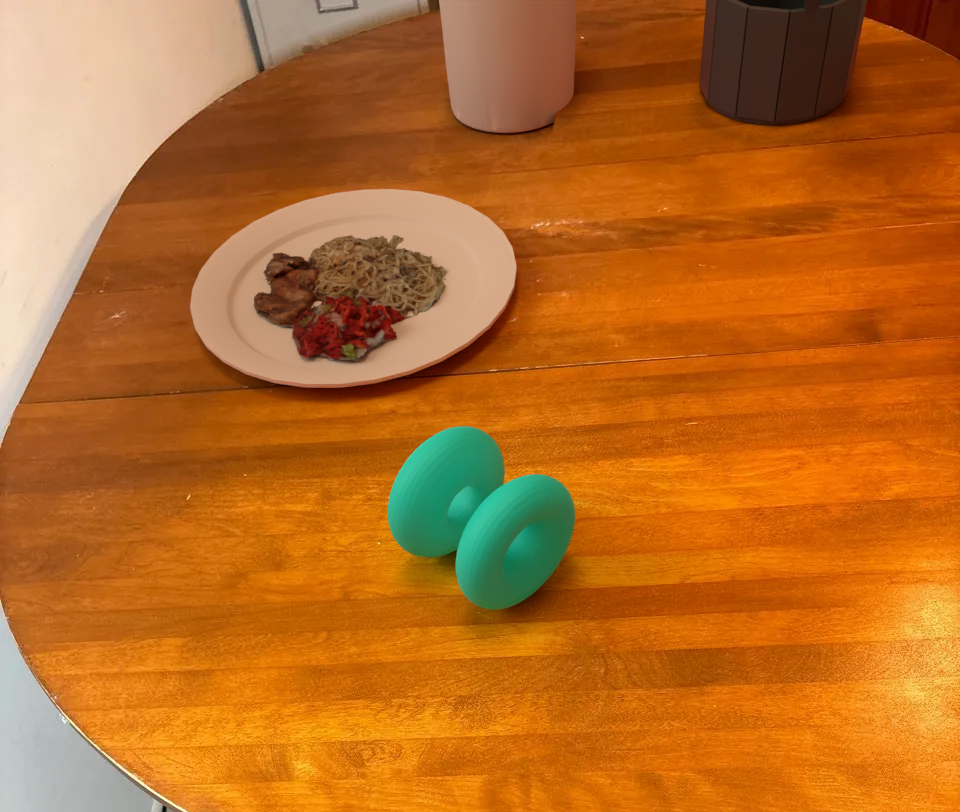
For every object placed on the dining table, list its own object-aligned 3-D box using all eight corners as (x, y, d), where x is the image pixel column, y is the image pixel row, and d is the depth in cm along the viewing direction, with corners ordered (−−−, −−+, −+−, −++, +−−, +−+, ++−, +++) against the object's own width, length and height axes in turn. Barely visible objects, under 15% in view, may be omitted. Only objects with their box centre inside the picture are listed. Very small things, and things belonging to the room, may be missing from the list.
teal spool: (488, 496, 81) (478, 393, 73) (584, 562, 76) (584, 460, 68) (390, 568, 77) (368, 468, 70) (483, 643, 73) (471, 545, 65)
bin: (867, 116, 108) (899, -34, 97) (720, 135, 108) (735, -13, 97) (822, 48, 117) (846, -95, 107) (686, 66, 117) (696, -75, 107)
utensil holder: (510, 59, 124) (500, -115, 110) (607, 95, 117) (610, -87, 104) (420, 111, 119) (398, -66, 105) (517, 151, 112) (507, -33, 98)
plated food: (446, 176, 110) (443, 145, 107) (572, 335, 92) (572, 302, 90) (165, 259, 104) (154, 228, 102) (242, 444, 87) (231, 413, 84)
